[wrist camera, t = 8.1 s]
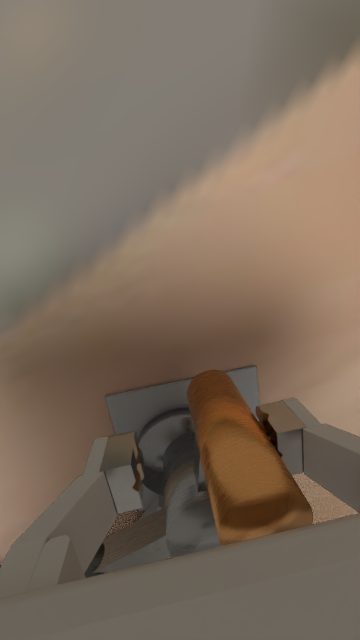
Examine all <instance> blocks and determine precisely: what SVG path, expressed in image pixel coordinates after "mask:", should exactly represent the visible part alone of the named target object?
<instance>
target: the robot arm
mask: <svg viewBox="0 0 360 640" xmlns="http://www.w3.org/2000/svg"><path fill="white" fill-rule="evenodd" d="M256 416H257V418H258V419H259V424H260V425H261V427H262V428H263V430H264V432H265V433H266V435H267V436H268V438H269V440H270V441H271V443H272V445H273V446H274V448H275V449H276V451H277V453H278V454H279V456H280V457H281V459H282V461H283V462H284V464H285V466H286V467H287V469H288V470H289V472H290V474H291V475H293V474H298V473H303V472H304V474H305V475H306V476H308V477H309V478H311V479H312V480H314V481H315V482H316V483H318V484H319V485H321V486H322V487H323V488H325V489H326V490H328V491H329V492H330V493H332V494H333V495H335V496H336V497H338V498H339V499H340V500H342V501H343V502H345V503H346V504H347V505H349V506H350V507H352V508H353V509H355V510H356V511H357V512H359V514H355V515H350V516H346V517H342V518H338V519H333V520H329V521H325V522H321V523H317V524H312V525H308V526H304V527H300V528H296V529H291V530H287V531H283V532H279V533H274V534H270V535H266V536H262V537H258V538H253V539H249V540H245V541H241V542H236V543H232V544H228V545H224V546H219V547H215V548H211V549H207V550H202V551H198V552H194V553H190V554H186V555H181V556H177V557H173V558H169V559H164V560H160V561H156V562H152V563H147V564H143V565H139V566H135V567H131V568H126V569H122V570H118V571H114V572H109V573H105V574H101V575H97V576H92V577H88V578H86V577H85V575H84V573H85V572H86V570H87V568H88V566H89V565H90V563H91V561H92V559H93V558H94V556H95V554H96V552H97V551H98V549H99V547H100V546H101V544H102V542H103V540H104V539H105V537H106V535H107V533H108V532H109V530H110V528H111V526H112V525H113V523H114V521H115V519H116V518H117V514H120V513H124V512H128V511H132V510H135V509H139V508H143V492H144V488H143V484H142V480H143V478H144V459H143V454H142V449H140V448H139V438H138V434H137V432H136V431H132V432H126V433H121V434H115V435H110V436H105V437H100V438H96V439H95V440H94V442H93V445H92V448H91V451H90V454H89V457H88V460H87V464H86V467H85V470H84V473H83V476H79V477H77V478H76V479H75V480H74V482H73V483H72V484H71V485H70V486H69V487H68V488H67V489H66V490H65V491H64V492H63V493H62V494H61V495H60V496H59V497H58V498H57V499H56V500H55V501H54V502H53V503H52V504H51V505H50V506H49V507H48V508H47V509H46V510H45V511H44V512H43V513H42V514H41V516H40V517H39V518H38V519H37V520H36V521H35V522H34V523H33V524H32V525H31V526H30V527H29V528H28V529H27V530H26V531H25V532H24V533H23V534H22V535H21V536H20V537H19V538H18V539H17V540H16V541H15V542H14V543H13V544H12V545H11V547H10V549H9V551H8V553H7V555H6V557H5V559H4V561H3V564H2V566H1V568H0V640H360V437H358V436H356V435H353V434H351V433H348V432H346V431H343V430H341V429H338V428H335V427H333V426H330V425H328V424H321V423H320V422H319V421H318V420H317V419H316V418H315V417H314V416H313V415H312V414H311V413H310V412H309V411H308V410H307V409H306V408H305V407H304V406H303V405H302V404H301V403H300V402H299V401H298V400H297V399H296V398H289V399H285V400H281V401H278V402H273V403H268V404H264V405H259V406H256Z"/></svg>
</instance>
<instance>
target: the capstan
mask: <svg viewBox="0 0 360 640" xmlns="http://www.w3.org/2000/svg"><path fill="white" fill-rule="evenodd" d="M187 401H188V406H189V408H177V409H172V410H169V411H166V412H163V413H161V414H159V415H158V416H156V417H154V418H153V419H152V420H151V421H149V422H148V423H147V424H146V425H145V427H144V428H143V429H142V431H141V432H140V434H139V436H138V438H139V448H140V449H142V454H143V459H144V478H143V480H142V483H143V484H144V485H145V486H146V487H147V488H148V489H149V490H151V491H153V492H154V493H156V494H159V495H162V496H164V501H165V507H164V508H162V509H160V510H158V511H156V512H154V513H152V514H150V515H148V516H146V517H145V518H143V519H141V520H139V521H137V522H135V523H133V524H131V525H129V526H127V527H125V528H123V529H122V530H120V531H118V532H116V533H114V534H112V535H110V536H108V537H106V538H105V539H104V540H103V542H102V544H101V546H100V547H99V549H98V551H97V552H96V554H95V556H94V558H93V559H92V561H91V563H90V565H89V566H88V568H87V570H86V572H85V573H84V575H85V577H86V578H88V577H92V576H97V575H101V574H105V573H109V572H114V571H118V570H122V569H126V568H131V567H135V566H139V565H143V564H147V563H152V562H156V561H160V560H164V559H166V558H168V557H170V556H172V557H177V556H181V555H186V554H190V553H194V552H198V551H202V550H207V549H211V548H215V547H219V546H224V545H228V544H232V543H236V542H241V541H245V540H249V539H253V538H258V537H262V536H266V535H270V534H274V533H279V532H283V531H287V530H291V529H296V528H300V527H304V526H308V525H312V522H313V512H312V509H311V506H310V504H309V503H308V501H307V500H306V498H305V496H304V495H303V493H302V491H301V490H300V488H299V487H298V485H297V483H296V482H295V480H294V478H293V477H292V475H291V474H290V472H289V470H288V469H287V467H286V466H285V464H284V462H283V461H282V459H281V457H280V456H279V454H278V453H277V451H276V449H275V448H274V446H273V445H272V443H271V441H270V440H269V438H268V436H267V435H266V433H265V432H264V430H263V428H262V427H261V425H260V424H259V422H258V420H257V419H256V417H255V415H254V414H253V412H252V411H251V409H250V407H249V406H248V404H247V402H246V401H245V399H244V398H243V396H242V394H241V393H240V391H239V390H238V388H237V386H236V385H235V383H234V381H233V380H232V378H231V377H230V376H229V375H227V374H226V373H224V372H221V371H217V370H209V371H205V372H202V373H200V374H199V375H197V376H196V377H195V378H194V379H193V380H192V381H191V382H190V384H189V386H188V388H187Z"/></svg>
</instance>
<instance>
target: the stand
mask: <svg viewBox="0 0 360 640" xmlns="http://www.w3.org/2000/svg"><path fill="white" fill-rule="evenodd" d="M224 373H226V374H227V375H229V376H230V377H231V378H232V380H233V381H234V383H235V385H236V386H237V388H238V390H239V391H240V393H241V394H242V396H243V398H244V399H245V401H246V402H247V404H248V406H249V407H250V409H251V411H252V412H253V414H254V415H255V417H256V419H257V420H258V422H259V419H258V418H257V416H256V406H259V405H260V403H259V391H258V379H257V367H256V366H250V367H245V368H240V369H235V370H230V371H225V372H224ZM193 379H194V378H191V379H186V380H181V381H176V382H171V383H166V384H161V385H156V386H151V387H146V388H141V389H137V390H132V391H127V392H122V393H117V394H112V395H107V396H105V400H106V403H107V407H108V410H109V414H110V417H111V420H112V424H113V427H114V431H115V434H121V433H126V432H132V431H136V432H137V434H138V436H139V434H140V432H141V431H142V429H143V428H144V427H145V425H146V424H147V423H148V422H149V421H151V420H152V419H153V418H154V417H156V416H158V415H159V414H161V413H163V412H166V411H169V410H172V409H177V408H189V406H188V401H187V388H188V386H189V384H190V382H191V381H192V380H193ZM142 484H143V483H142ZM143 488H144V492H143V508H139V509H137V510H138V512H139V511H144V510H145V511H144V513H143V514H142V516H141V517H140V519H139V520H141V519H143V518H145V517H146V516H148V515H150V514H152V513H154V512H156V511H158V510H160V509H162V508H164V507H165V501H164V496H162V495H159V494H156V493H154V492H153V491H151V490H149V489H148V488H147V487H146V486H145V485H144V484H143ZM139 520H138V521H139ZM0 568H1V566H0Z"/></svg>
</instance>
